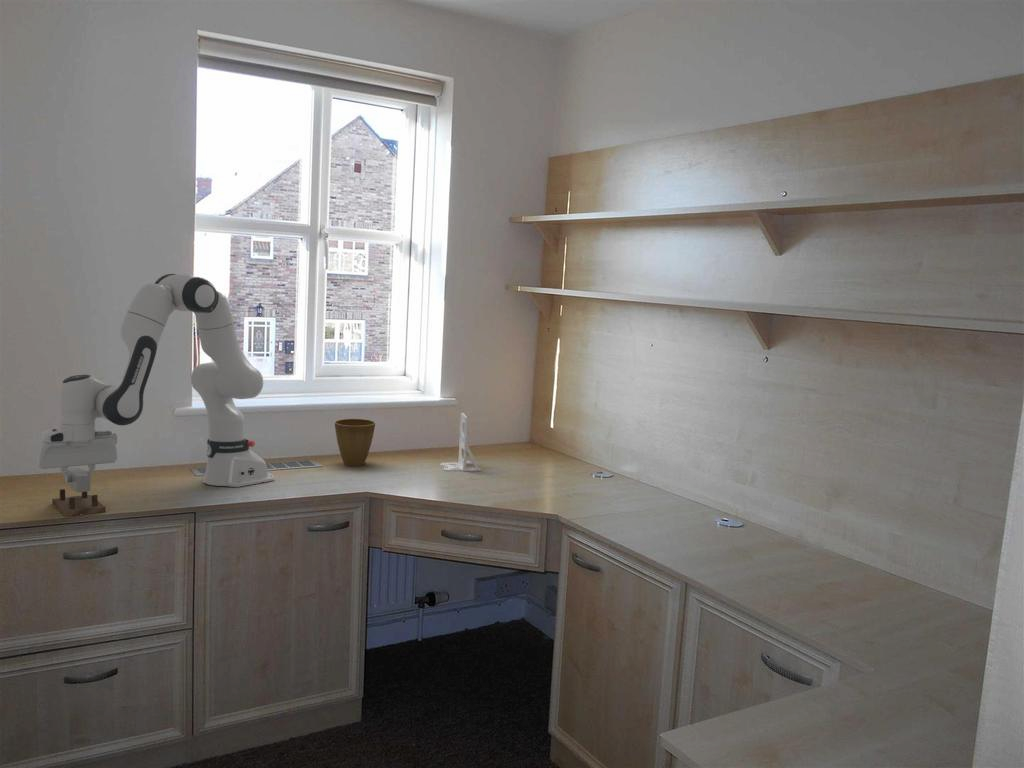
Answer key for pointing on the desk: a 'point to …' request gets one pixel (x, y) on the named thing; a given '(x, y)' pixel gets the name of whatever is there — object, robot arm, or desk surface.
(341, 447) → the plant pot
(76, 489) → the grey rectangular block
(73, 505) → the footed brown board
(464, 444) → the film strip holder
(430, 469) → the desk surface
